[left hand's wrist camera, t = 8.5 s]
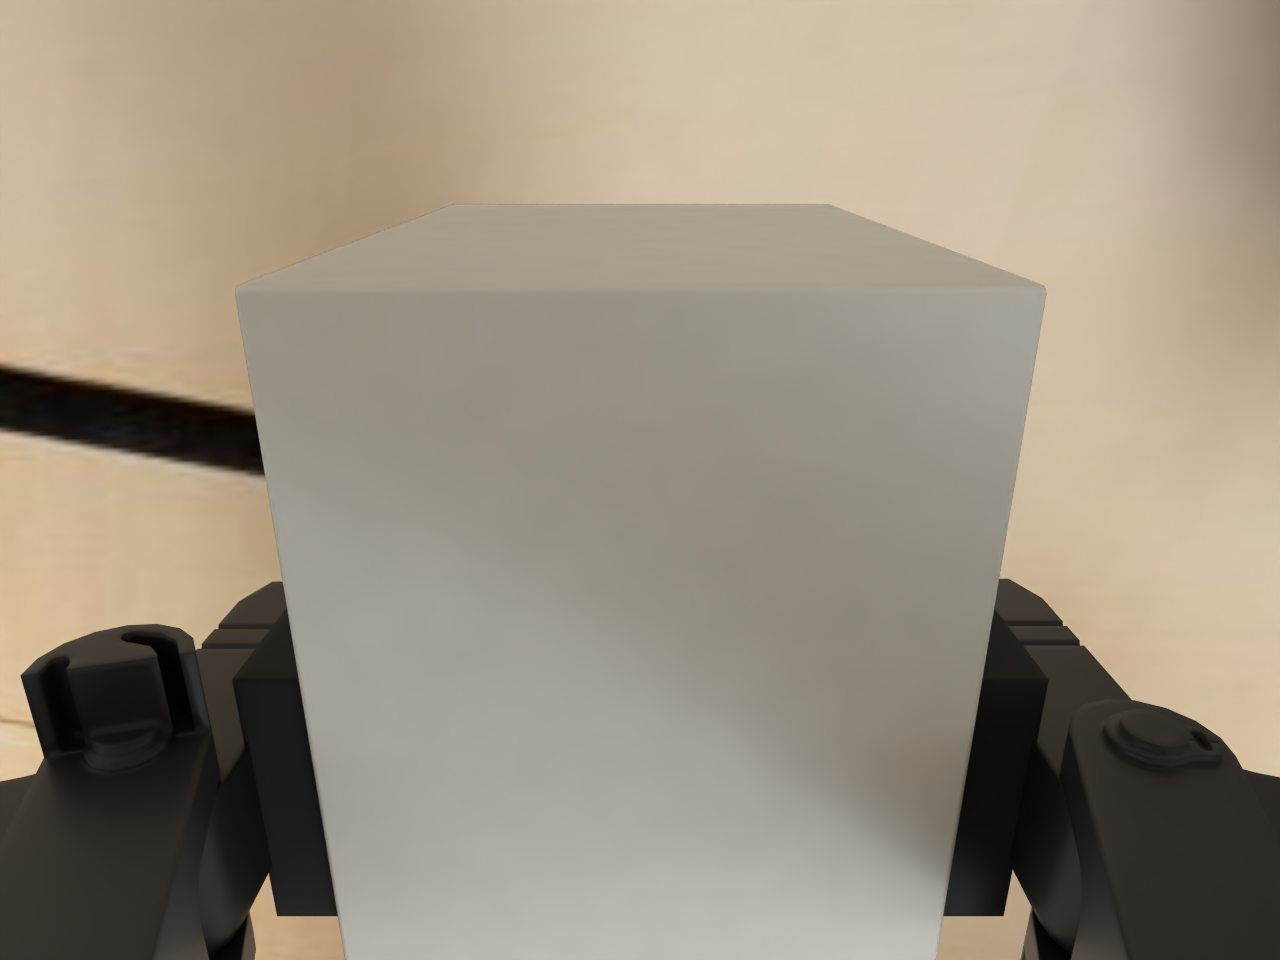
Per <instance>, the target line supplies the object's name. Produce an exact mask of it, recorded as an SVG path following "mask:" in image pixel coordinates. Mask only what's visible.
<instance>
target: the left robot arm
mask: <svg viewBox="0 0 1280 960" xmlns="http://www.w3.org/2000/svg"><path fill="white" fill-rule="evenodd" d="M21 679H22V683H23V686H24V689H25V693H26V696H27V700H28V703H29V707H30V710H31V713H32V717H33V720H34V724H35V727H36V731H37V734H38V738H39V741H40V744H41V748H42V751H43V755H44V759H43V761H42V763H41V765H40V767H39V769H38V771H37V773H36V774H33V775H30V776H26V777H21V778H16V779H11V780H6V781H1V782H0V960H255V952H256V946H255V939H254V932H253V927H252V922H251V917H250V912H249V910H250V908H251V906H252V904H253V902H254V900H255V898H256V896H257V894H258V892H259V891H260V889H261V887H262V885H263V883H264V881H265V879H266V877H267V875H268V873H269V876H270V881H271V886H272V892H273V897H274V902H275V907H276V912H277V916H338V913H337V907H336V901H335V895H334V889H333V883H332V877H331V871H330V865H329V859H328V853H327V847H326V841H325V835H324V828H323V822H322V816H321V810H320V804H319V798H318V792H317V786H316V780H315V774H314V768H313V762H312V756H311V750H310V744H309V738H308V732H307V726H306V719H305V713H304V707H303V701H302V695H301V689H300V683H299V677H298V671H297V665H296V659H295V653H294V647H293V641H292V635H291V629H290V623H289V616H288V610H287V604H286V598H285V592H284V586H283V582H271V583H270V584H268V585H266V586H264V587H263V588H261V589H259V590H258V591H256V592H254V593H253V594H251V595H249V596H247V597H246V598H244V599H242V600H241V601H239V602H238V603H237V604H236V605H235V607H234V608H233V609H232V610H231V611H230V612H229V613H228V615H227V616H226V617H225V618H224V619H223V620H222V621H221V623H220V624H219V629H215V630H214V631H213V632H212V633H211V634H210V635H209V636H208V638H207V639H206V640H205V641H204V642H203V643H202V649H197V650H195V645H194V641H193V638H192V637H191V636H190V635H188V634H187V633H186V632H184V631H183V630H181V629H180V628H175V627H170V626H165V625H159V624H148V625H127V626H122V627H118V628H113V629H108V630H103V631H98V632H94V633H92V634H89V635H86V636H83V637H81V638H78V639H75V640H72V641H70V642H67V643H64V644H62V645H61V646H59V647H57V648H55V649H54V650H52V651H50V652H48V653H47V654H45V655H43V656H41V657H40V658H38V659H37V660H36V661H35V662H34V663H33V664H32V665H31V666H30V667H29V668H28V669H27V670H26V671H25V672H24V673H23V674H22V675H21ZM1012 869H1013V871H1014V873H1015V875H1016V877H1017V879H1018V881H1019V882H1020V884H1021V886H1022V888H1023V890H1024V892H1025V894H1026V896H1027V898H1028V900H1029V902H1030V904H1031V906H1032V907H1031V912H1030V917H1029V922H1028V927H1027V931H1026V936H1025V941H1024V946H1023V951H1022V956H1021V960H1280V777H1275V776H1270V775H1265V774H1260V773H1255V772H1252V771H1248V770H1244V769H1242V767H1241V765H1240V763H1239V761H1238V759H1237V758H1236V756H1235V755H1234V754H1233V752H1232V751H1231V750H1230V749H1229V747H1228V746H1227V745H1226V744H1225V743H1224V741H1223V740H1222V739H1221V738H1220V737H1219V736H1217V735H1216V734H1214V733H1213V732H1211V731H1210V730H1208V729H1207V728H1205V727H1204V726H1202V725H1201V724H1199V723H1198V722H1196V721H1195V720H1192V719H1190V718H1188V717H1185V716H1183V715H1181V714H1178V713H1176V712H1174V711H1171V710H1169V709H1167V708H1163V707H1159V706H1155V705H1151V704H1147V703H1143V702H1139V701H1134V700H1131V699H1130V697H1129V696H1128V695H1127V694H1126V693H1125V692H1124V691H1123V689H1122V688H1121V687H1120V686H1119V685H1118V684H1117V683H1116V682H1115V680H1114V679H1113V678H1112V677H1111V676H1110V675H1109V674H1108V672H1107V671H1106V670H1105V669H1104V668H1103V667H1102V666H1101V664H1100V663H1099V662H1098V661H1097V660H1096V659H1095V658H1094V657H1093V655H1092V654H1091V653H1090V652H1089V651H1088V650H1087V649H1086V647H1085V646H1080V643H1079V640H1078V638H1077V637H1076V636H1075V635H1074V634H1073V633H1072V632H1071V630H1070V629H1069V628H1068V627H1067V626H1063V621H1062V620H1061V619H1060V618H1059V617H1058V616H1057V615H1056V613H1055V612H1054V611H1053V610H1052V609H1051V608H1050V607H1049V605H1048V604H1047V603H1046V602H1045V601H1044V600H1043V599H1042V598H1041V597H1039V596H1037V595H1036V594H1034V593H1032V592H1030V591H1029V590H1027V589H1025V588H1024V587H1022V586H1020V585H1018V584H1017V583H1015V582H1013V581H1012V580H1010V579H999V582H998V588H997V594H996V600H995V606H994V612H993V618H992V624H991V630H990V636H989V642H988V648H987V654H986V660H985V666H984V672H983V678H982V684H981V690H980V696H979V702H978V708H977V714H976V720H975V726H974V732H973V738H972V744H971V750H970V757H969V763H968V769H967V775H966V781H965V787H964V793H963V799H962V805H961V811H960V817H959V823H958V829H957V835H956V841H955V847H954V853H953V859H952V865H951V871H950V877H949V883H948V889H947V895H946V901H945V907H944V913H943V916H1004V911H1005V906H1006V900H1007V895H1008V890H1009V885H1010V880H1011V874H1012Z"/></svg>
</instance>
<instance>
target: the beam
mask: <svg viewBox="0 0 1280 960" xmlns="http://www.w3.org/2000/svg"><path fill="white" fill-rule="evenodd" d="M235 295H236V301H237V307H238V314H239V320H240V326H241V332H242V338H243V344H244V350H245V356H246V362H247V368H248V374H249V380H250V386H251V392H252V398H253V404H254V410H255V417H256V423H257V429H258V435H259V441H260V447H261V453H262V459H263V465H264V471H265V477H266V483H267V489H268V495H269V501H270V507H271V513H272V520H273V526H274V532H275V538H276V544H277V550H278V556H279V562H280V568H281V574H282V580H283V586H284V592H285V598H286V604H287V610H288V616H289V623H290V629H291V635H292V641H293V647H294V653H295V659H296V665H297V671H298V677H299V683H300V689H301V695H302V701H303V707H304V713H305V719H306V726H307V732H308V738H309V744H310V750H311V756H312V762H313V768H314V774H315V780H316V786H317V792H318V798H319V804H320V810H321V816H322V822H323V828H324V835H325V841H326V847H327V853H328V859H329V865H330V871H331V877H332V883H333V889H334V895H335V901H336V907H337V913H338V919H339V925H340V931H341V938H342V944H343V950H344V956H345V960H936V955H937V949H938V943H939V937H940V931H941V925H942V919H943V913H944V907H945V901H946V895H947V889H948V883H949V877H950V871H951V865H952V859H953V853H954V847H955V841H956V835H957V829H958V823H959V817H960V811H961V805H962V799H963V793H964V787H965V781H966V775H967V769H968V763H969V757H970V750H971V744H972V738H973V732H974V726H975V720H976V714H977V708H978V702H979V696H980V690H981V684H982V678H983V672H984V666H985V660H986V654H987V648H988V642H989V636H990V630H991V624H992V618H993V612H994V606H995V600H996V594H997V588H998V582H999V576H1000V570H1001V564H1002V558H1003V552H1004V546H1005V540H1006V534H1007V528H1008V522H1009V516H1010V510H1011V504H1012V498H1013V492H1014V486H1015V480H1016V474H1017V468H1018V461H1019V455H1020V449H1021V443H1022V437H1023V431H1024V425H1025V419H1026V413H1027V407H1028V401H1029V395H1030V389H1031V383H1032V377H1033V371H1034V365H1035V359H1036V353H1037V347H1038V341H1039V335H1040V329H1041V323H1042V317H1043V311H1044V305H1045V299H1046V288H1045V286H1043V285H1041V284H1039V283H1036V282H1033V281H1031V280H1028V279H1025V278H1023V277H1020V276H1017V275H1015V274H1012V273H1009V272H1007V271H1004V270H1001V269H999V268H996V267H993V266H991V265H988V264H986V263H983V262H980V261H978V260H975V259H972V258H970V257H967V256H964V255H962V254H959V253H956V252H954V251H951V250H948V249H946V248H943V247H940V246H938V245H935V244H932V243H930V242H927V241H924V240H922V239H919V238H917V237H914V236H911V235H909V234H906V233H903V232H901V231H898V230H895V229H893V228H890V227H887V226H885V225H882V224H879V223H877V222H874V221H871V220H869V219H866V218H863V217H861V216H858V215H855V214H853V213H850V212H848V211H845V210H842V209H840V208H837V207H834V206H832V205H829V204H452V205H450V206H447V207H444V208H442V209H439V210H436V211H434V212H431V213H428V214H426V215H423V216H420V217H418V218H415V219H412V220H410V221H407V222H404V223H402V224H399V225H396V226H394V227H391V228H388V229H386V230H383V231H381V232H378V233H375V234H373V235H370V236H367V237H365V238H362V239H359V240H357V241H354V242H351V243H349V244H346V245H343V246H341V247H338V248H335V249H333V250H330V251H327V252H325V253H322V254H319V255H317V256H314V257H311V258H309V259H306V260H303V261H301V262H298V263H295V264H293V265H290V266H287V267H285V268H282V269H279V270H277V271H274V272H272V273H269V274H266V275H264V276H261V277H258V278H256V279H253V280H250V281H248V282H245V283H242V284H240V285H238V286H237V287H236V291H235Z"/></svg>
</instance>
